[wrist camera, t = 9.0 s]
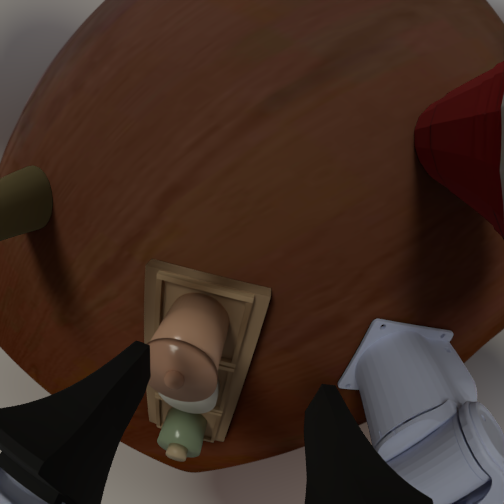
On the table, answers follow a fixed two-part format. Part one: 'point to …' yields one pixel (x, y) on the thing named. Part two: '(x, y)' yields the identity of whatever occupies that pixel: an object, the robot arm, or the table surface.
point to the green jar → (182, 434)
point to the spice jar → (189, 348)
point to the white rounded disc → (194, 403)
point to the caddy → (237, 341)
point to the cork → (24, 202)
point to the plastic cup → (468, 144)
